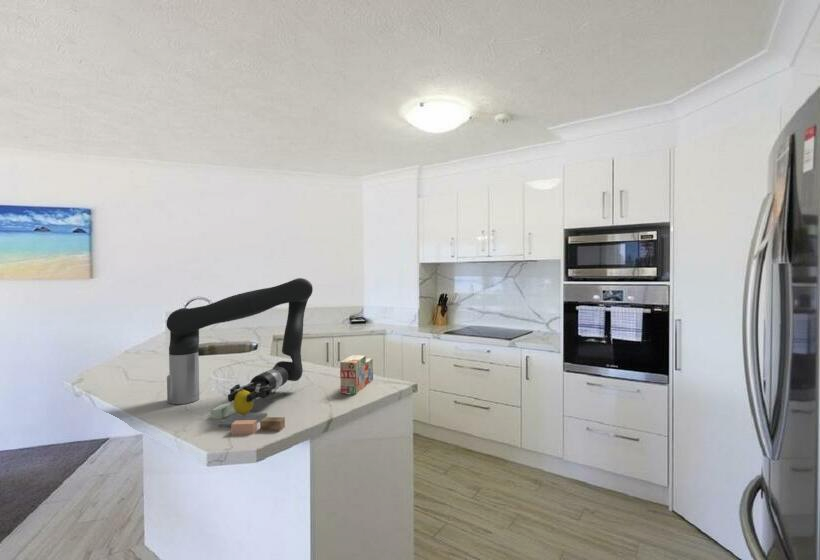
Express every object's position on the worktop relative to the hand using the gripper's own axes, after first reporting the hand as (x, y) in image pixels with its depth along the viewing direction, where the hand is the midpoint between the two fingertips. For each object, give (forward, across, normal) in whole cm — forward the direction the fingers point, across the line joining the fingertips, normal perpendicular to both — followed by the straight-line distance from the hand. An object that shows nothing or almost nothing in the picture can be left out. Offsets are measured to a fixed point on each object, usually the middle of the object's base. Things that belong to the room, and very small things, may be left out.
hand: (238, 398), depth 117 cm
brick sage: (-6, -10, +8) cm, 14 cm away
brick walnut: (+3, +12, +8) cm, 15 cm away
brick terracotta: (+6, +5, +8) cm, 11 cm away
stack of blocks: (-43, +25, +8) cm, 50 cm away
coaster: (-2, 0, +8) cm, 8 cm away
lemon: (-3, 0, +6) cm, 7 cm away
